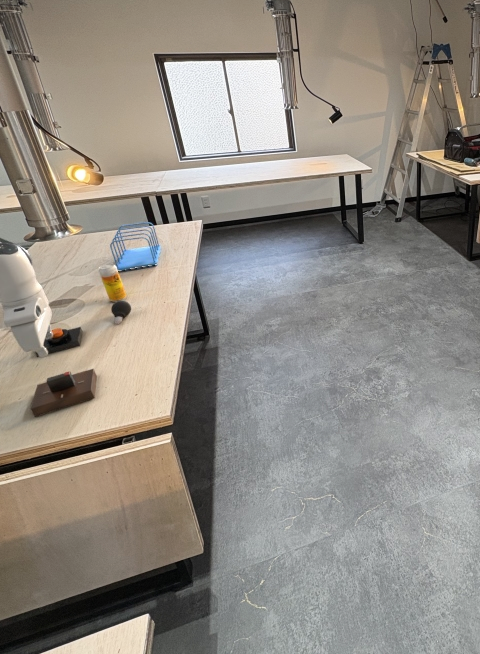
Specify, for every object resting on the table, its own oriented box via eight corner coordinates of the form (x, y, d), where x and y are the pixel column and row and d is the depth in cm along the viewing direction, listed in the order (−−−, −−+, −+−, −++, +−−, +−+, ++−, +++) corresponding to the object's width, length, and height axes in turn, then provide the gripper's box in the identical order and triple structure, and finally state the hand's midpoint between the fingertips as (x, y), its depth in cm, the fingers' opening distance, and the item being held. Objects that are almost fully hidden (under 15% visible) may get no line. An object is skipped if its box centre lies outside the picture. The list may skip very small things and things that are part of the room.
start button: (49, 339, 139) (47, 335, 138) (51, 334, 142) (49, 330, 141) (62, 336, 140) (60, 332, 139) (64, 331, 143) (62, 327, 142)
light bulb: (105, 318, 149) (111, 297, 155) (109, 328, 153) (114, 307, 160) (126, 318, 151) (131, 297, 158) (128, 328, 155) (133, 307, 162)
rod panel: (34, 417, 112) (29, 408, 111) (41, 392, 121) (36, 384, 119) (94, 398, 118) (90, 389, 117) (96, 376, 127) (93, 368, 125)
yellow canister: (119, 303, 167) (107, 270, 160) (106, 302, 168) (94, 269, 161) (130, 295, 172) (118, 263, 166) (117, 294, 173) (105, 262, 167)
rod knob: (51, 392, 116) (45, 381, 114) (52, 388, 118) (46, 377, 116) (74, 385, 119) (69, 374, 117) (75, 382, 120) (70, 370, 118)
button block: (37, 357, 136) (32, 347, 134) (42, 342, 144) (37, 332, 142) (80, 346, 141) (76, 336, 139) (82, 331, 149) (78, 322, 147)
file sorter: (157, 266, 198) (148, 236, 191) (116, 273, 192) (105, 242, 185) (161, 247, 219) (153, 220, 212) (124, 253, 213) (115, 225, 206)
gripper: (18, 290, 114) (39, 331, 120) (1, 325, 98) (26, 370, 104) (46, 284, 116) (65, 324, 123) (34, 317, 100) (56, 362, 107)
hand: (47, 346), depth 113 cm, fingers open, 8 cm apart
